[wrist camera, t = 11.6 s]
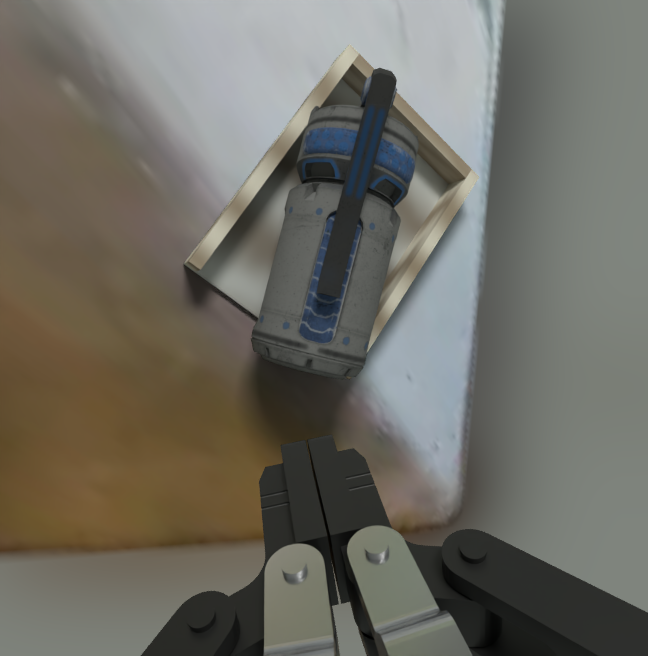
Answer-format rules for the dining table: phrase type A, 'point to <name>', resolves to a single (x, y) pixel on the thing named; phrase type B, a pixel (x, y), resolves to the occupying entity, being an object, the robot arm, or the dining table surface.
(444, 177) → the cream flat rectangular tray
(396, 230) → the beverage bottle
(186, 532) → the dining table surface
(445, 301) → the dining table surface
